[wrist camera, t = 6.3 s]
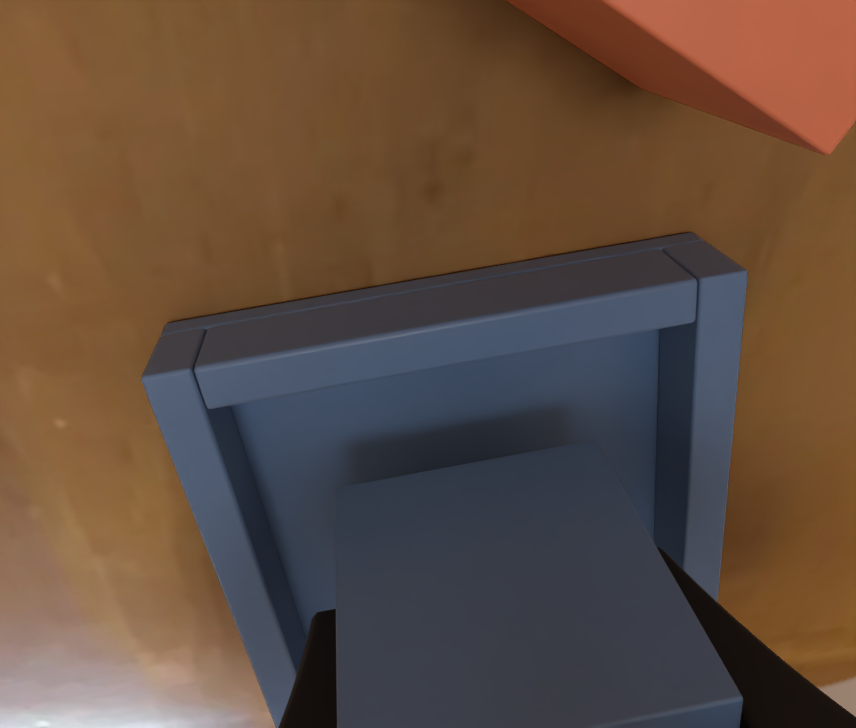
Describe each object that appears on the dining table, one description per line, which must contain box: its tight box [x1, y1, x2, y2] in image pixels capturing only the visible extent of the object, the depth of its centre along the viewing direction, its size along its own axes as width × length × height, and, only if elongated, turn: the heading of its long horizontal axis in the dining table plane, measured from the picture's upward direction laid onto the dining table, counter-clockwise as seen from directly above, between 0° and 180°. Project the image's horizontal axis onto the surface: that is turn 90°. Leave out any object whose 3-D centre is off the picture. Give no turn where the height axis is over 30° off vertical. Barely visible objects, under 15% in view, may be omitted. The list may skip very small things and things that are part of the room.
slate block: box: [334, 440, 743, 728], centre depth 11 cm, size 4×4×5 cm
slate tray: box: [141, 232, 748, 728], centre depth 14 cm, size 10×10×2 cm
